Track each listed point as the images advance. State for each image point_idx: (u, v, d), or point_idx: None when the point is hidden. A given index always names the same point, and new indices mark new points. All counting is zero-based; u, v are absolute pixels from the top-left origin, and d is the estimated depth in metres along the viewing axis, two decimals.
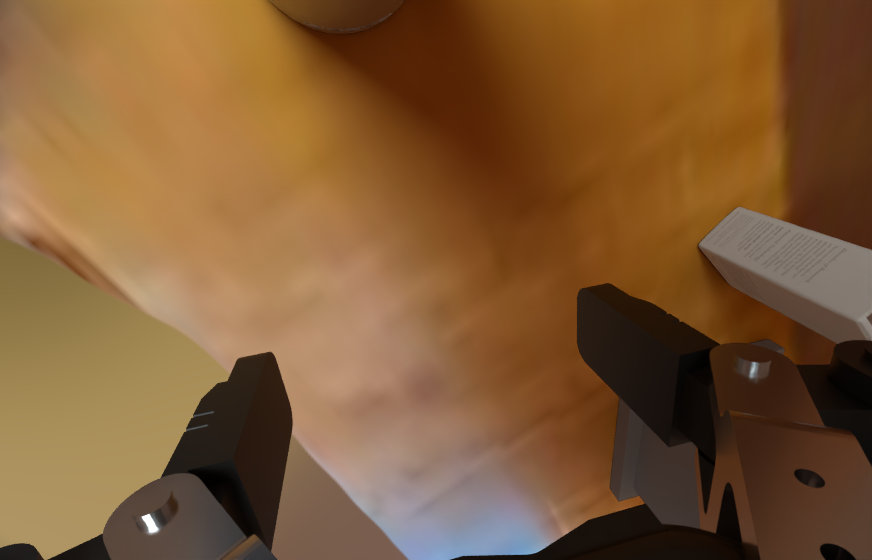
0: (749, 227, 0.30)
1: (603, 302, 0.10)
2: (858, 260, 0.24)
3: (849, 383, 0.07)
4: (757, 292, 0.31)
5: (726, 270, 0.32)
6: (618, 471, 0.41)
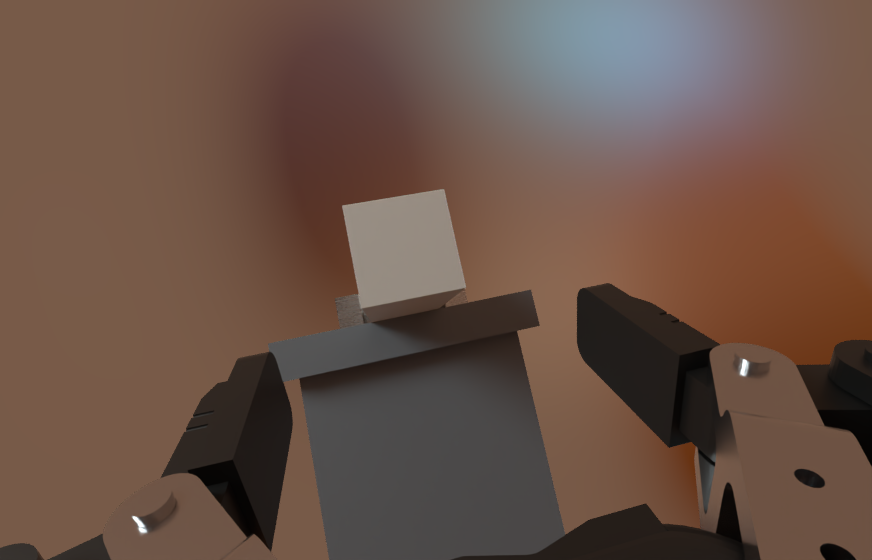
0: None
1: (603, 302, 0.10)
2: None
3: (849, 383, 0.07)
4: None
5: None
6: None
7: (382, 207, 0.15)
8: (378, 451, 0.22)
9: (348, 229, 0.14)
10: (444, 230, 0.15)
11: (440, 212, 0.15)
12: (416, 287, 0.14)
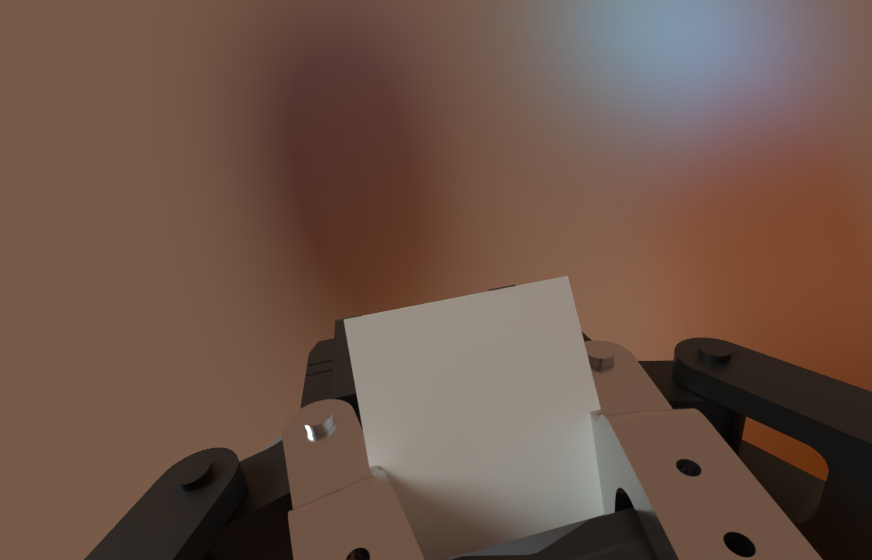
0: None
1: None
2: None
3: (695, 384, 0.07)
4: None
5: None
6: None
7: (434, 321, 0.06)
8: None
9: (357, 376, 0.06)
10: (572, 371, 0.07)
11: (562, 330, 0.07)
12: (515, 514, 0.06)
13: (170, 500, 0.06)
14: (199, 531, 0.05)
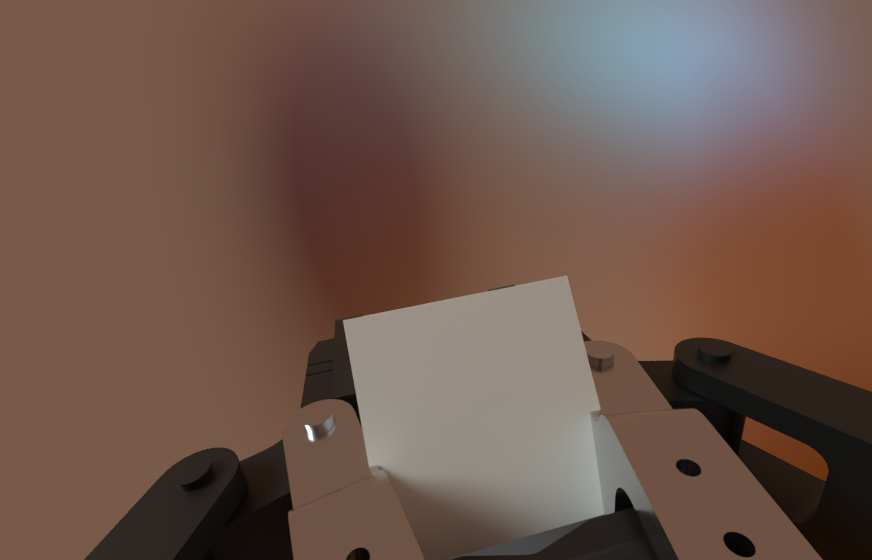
0: None
1: None
2: None
3: (695, 384, 0.07)
4: None
5: None
6: None
7: (434, 321, 0.06)
8: None
9: (357, 376, 0.06)
10: (572, 371, 0.07)
11: (561, 329, 0.07)
12: (515, 514, 0.06)
13: (170, 500, 0.06)
14: (199, 531, 0.05)
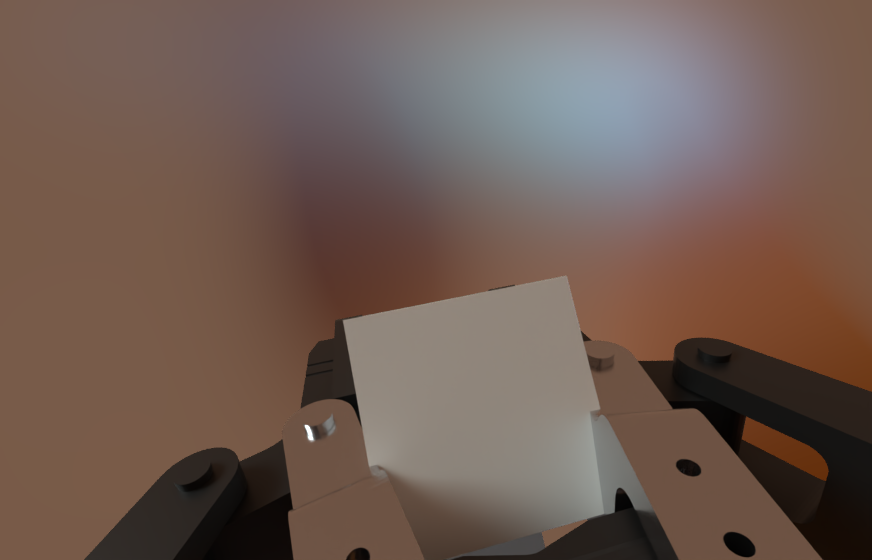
0: None
1: None
2: None
3: (695, 384, 0.07)
4: None
5: None
6: None
7: (434, 321, 0.06)
8: None
9: (357, 376, 0.06)
10: (571, 371, 0.07)
11: (561, 329, 0.07)
12: (515, 514, 0.06)
13: (170, 500, 0.06)
14: (199, 531, 0.05)
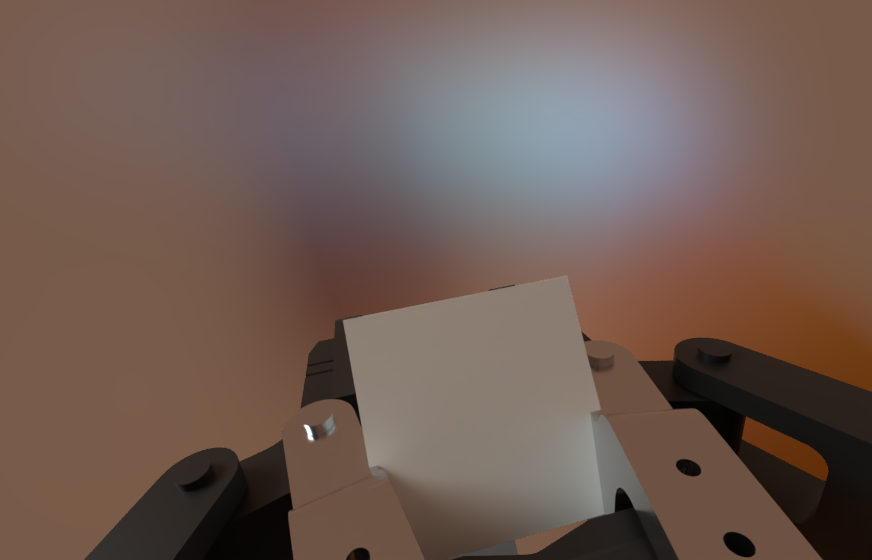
0: None
1: None
2: None
3: (695, 384, 0.07)
4: None
5: None
6: None
7: (433, 321, 0.06)
8: None
9: (357, 376, 0.06)
10: (572, 371, 0.07)
11: (561, 329, 0.07)
12: (515, 514, 0.06)
13: (170, 500, 0.06)
14: (199, 531, 0.05)
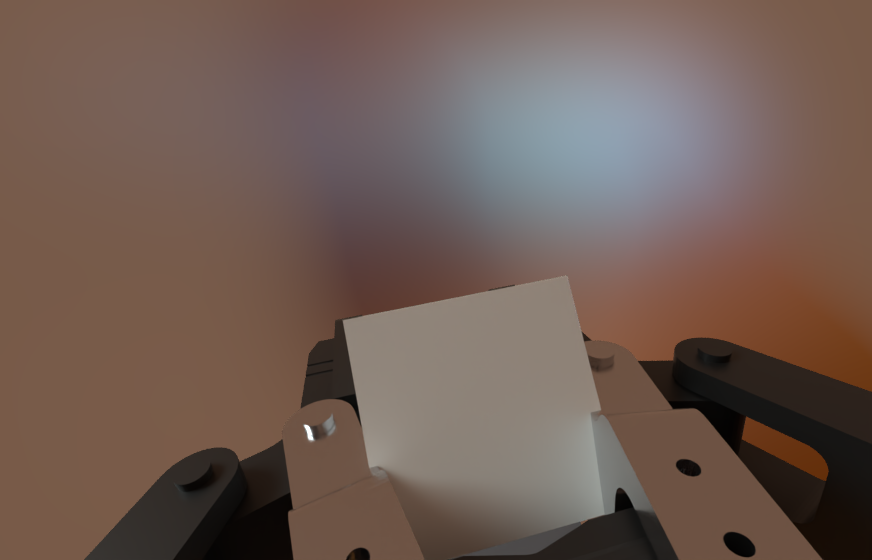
0: None
1: None
2: None
3: (695, 384, 0.07)
4: None
5: None
6: None
7: (434, 321, 0.06)
8: None
9: (356, 376, 0.06)
10: (572, 371, 0.07)
11: (562, 329, 0.07)
12: (515, 514, 0.06)
13: (170, 500, 0.06)
14: (199, 531, 0.05)
